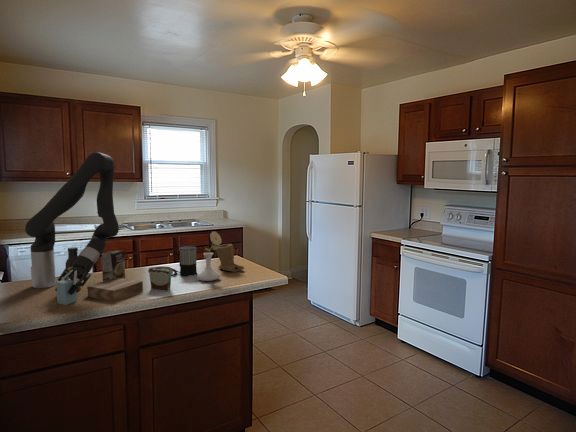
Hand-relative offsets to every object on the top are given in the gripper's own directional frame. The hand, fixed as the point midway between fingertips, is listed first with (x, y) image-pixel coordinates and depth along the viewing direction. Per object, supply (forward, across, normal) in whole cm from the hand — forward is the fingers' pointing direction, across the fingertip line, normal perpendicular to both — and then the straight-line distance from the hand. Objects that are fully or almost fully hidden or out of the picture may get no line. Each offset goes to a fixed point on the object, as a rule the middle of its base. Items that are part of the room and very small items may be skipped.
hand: (63, 292), depth 156 cm
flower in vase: (-36, +34, +43) cm, 65 cm away
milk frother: (-37, +14, +44) cm, 59 cm away
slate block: (+2, 0, +4) cm, 5 cm away
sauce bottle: (-7, -13, +14) cm, 20 cm away
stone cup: (-51, +32, +58) cm, 83 cm away
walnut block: (-10, +9, +17) cm, 21 cm away
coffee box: (-18, -4, +24) cm, 30 cm away
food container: (-20, +23, +27) cm, 41 cm away
